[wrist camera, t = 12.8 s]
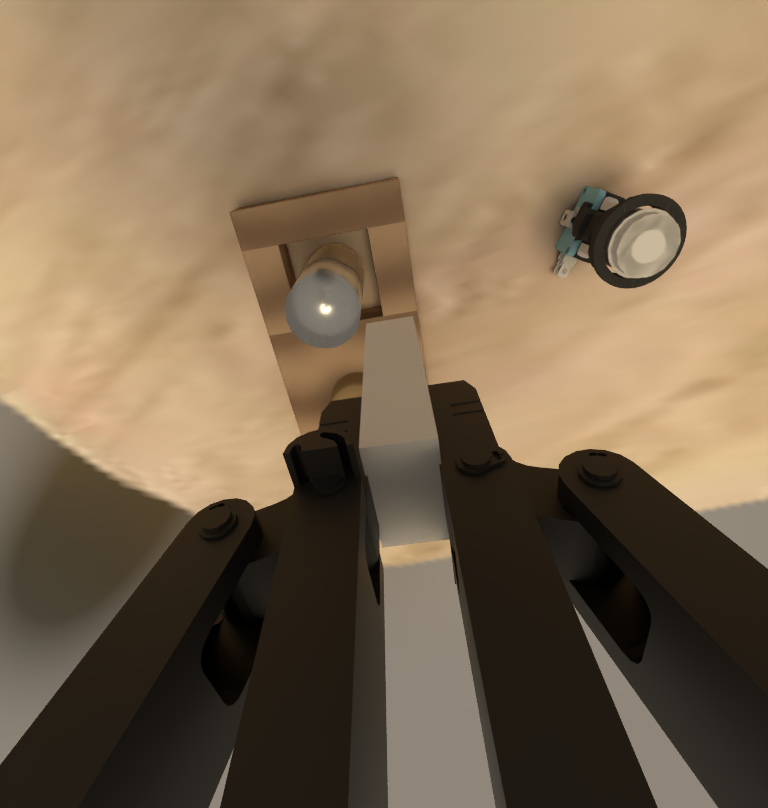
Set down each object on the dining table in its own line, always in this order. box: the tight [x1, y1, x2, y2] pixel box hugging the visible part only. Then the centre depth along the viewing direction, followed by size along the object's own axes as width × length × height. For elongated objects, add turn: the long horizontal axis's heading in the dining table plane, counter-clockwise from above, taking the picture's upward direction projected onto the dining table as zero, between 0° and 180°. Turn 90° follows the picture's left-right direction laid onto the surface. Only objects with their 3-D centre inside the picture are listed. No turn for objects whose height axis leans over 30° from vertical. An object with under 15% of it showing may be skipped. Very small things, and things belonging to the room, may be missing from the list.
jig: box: [229, 177, 428, 436], centre depth 34 cm, size 22×12×10 cm, turn 10°
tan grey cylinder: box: [285, 244, 364, 348], centre depth 31 cm, size 5×5×10 cm
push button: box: [553, 186, 687, 288], centre depth 30 cm, size 7×5×10 cm
